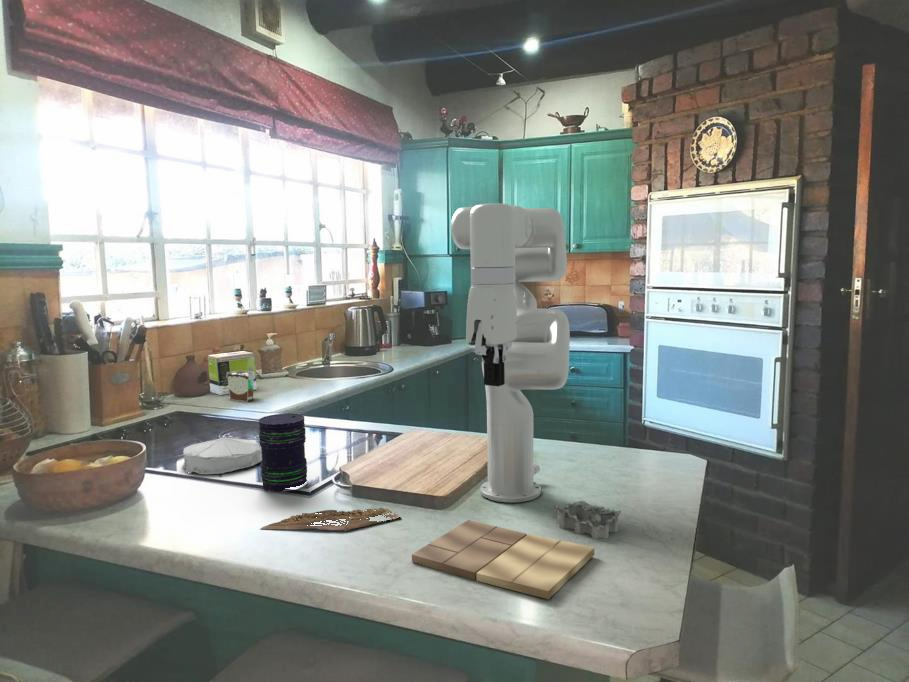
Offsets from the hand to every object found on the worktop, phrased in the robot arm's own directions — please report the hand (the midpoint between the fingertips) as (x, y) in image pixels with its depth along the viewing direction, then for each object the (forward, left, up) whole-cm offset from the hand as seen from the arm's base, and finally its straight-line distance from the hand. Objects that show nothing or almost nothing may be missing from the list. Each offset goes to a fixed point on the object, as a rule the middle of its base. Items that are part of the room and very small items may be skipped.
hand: (494, 384), depth 115 cm
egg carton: (-12, +12, -27) cm, 32 cm away
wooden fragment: (+11, -29, -28) cm, 42 cm away
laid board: (+8, 0, -27) cm, 28 cm away
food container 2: (-57, -138, -27) cm, 152 cm away
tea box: (-65, -155, -27) cm, 170 cm away
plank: (+8, +12, -27) cm, 30 cm away
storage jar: (+1, -53, -27) cm, 60 cm away
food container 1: (-3, -79, -28) cm, 84 cm away
